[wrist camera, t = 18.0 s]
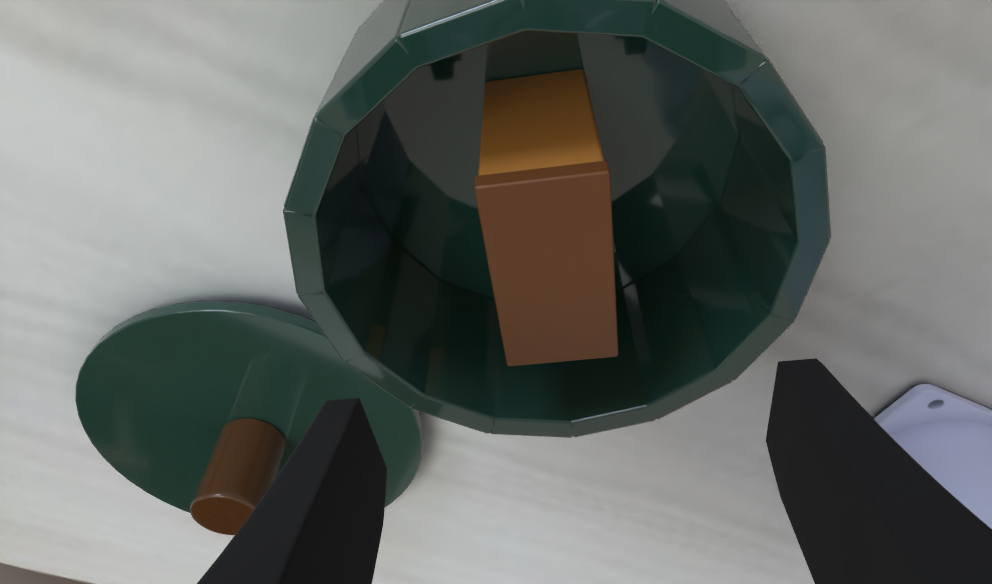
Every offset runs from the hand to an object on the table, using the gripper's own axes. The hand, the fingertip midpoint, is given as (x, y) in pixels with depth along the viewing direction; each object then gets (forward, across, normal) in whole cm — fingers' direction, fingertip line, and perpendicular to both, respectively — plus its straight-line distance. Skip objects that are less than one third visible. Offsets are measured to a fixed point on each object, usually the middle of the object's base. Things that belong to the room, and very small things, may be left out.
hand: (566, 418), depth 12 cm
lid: (+9, +12, +10) cm, 18 cm away
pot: (+10, 0, 0) cm, 10 cm away
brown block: (+9, 0, 0) cm, 9 cm away
